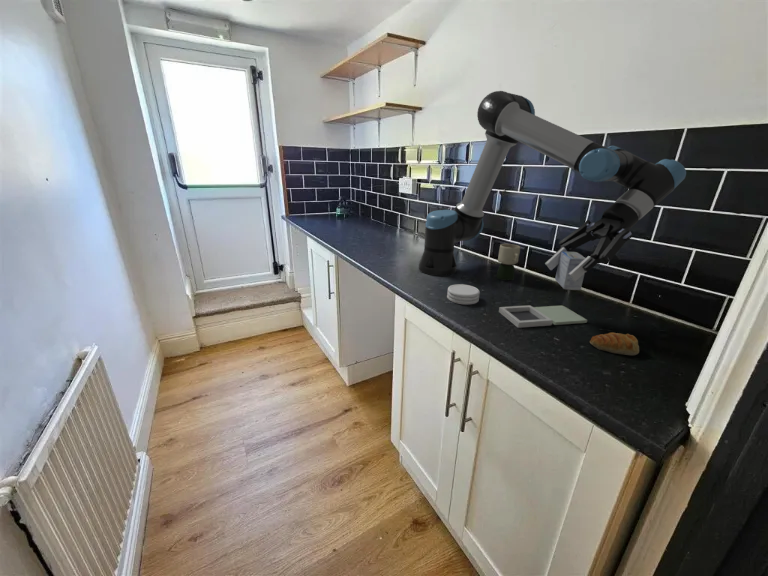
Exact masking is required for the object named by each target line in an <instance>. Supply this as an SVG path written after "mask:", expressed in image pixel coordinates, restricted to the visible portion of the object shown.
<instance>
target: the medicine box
mask: <svg viewBox="0 0 768 576" xmlns="http://www.w3.org/2000/svg"><path fill="white" fill-rule="evenodd" d="M586 258H587V257H586V256H585V257H584V256H583V255H582V254H581V253H579V252H577V251H570V252H561V254H560V258H559V263H558V265H557V268H556V269H557V270H556V274H555V277H554V278H555V281H556V282H557V283H558V285H560V287H562V289H563V290H570V291H571V290H572V291H581V290H582V286H583V281H584V277H585V273H586V272H585V273H584V274H583V275H582V276H581V277H580V278H579V279H578V280H576V281H574V280H573V279H572V278H571V276H570V275H569V273H570V272H571V271H572V270H573V269H574V268H576V267H577V266H578V265H579V264H580V263H581V262H582V261H583V260H584V259H586Z"/></svg>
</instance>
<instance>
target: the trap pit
mask: <svg viewBox="0 0 768 576" xmlns="http://www.w3.org/2000/svg"><path fill="white" fill-rule="evenodd" d="M534 307H535V306H532V305H530V304H529V305H528V304H527V305H513V306H512V305H511V306H500V307H498V313H500V315H502V316H503V317H504V318H505V319H507V320H508V321H509V322H511V324H513V325H514V326H515V327H516V328H519V329H520V328H531V327H532V328H533V327H545V326H546V327H547V326H552V325H553V323H552V321H553V320H551V319H550V318H549V317H547V316H546V315H544V314H543V313H541V312H540V311H538V310H537V309H535V308H534Z"/></svg>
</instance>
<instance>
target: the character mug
mask: <svg viewBox="0 0 768 576" xmlns="http://www.w3.org/2000/svg"><path fill="white" fill-rule="evenodd" d="M499 245H500V246H499V250H498V258H497V262H499V263H500V264H499V266H498V269H497V273H496V278H497V279H499V280H505V281H506V280H507V281H514V279H515V266H514V265H516V264H518V263H519V257H520V253H521V246H520V245H517V244H512V243H501V244H499Z"/></svg>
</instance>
